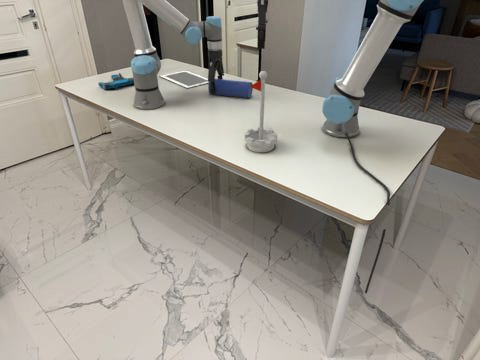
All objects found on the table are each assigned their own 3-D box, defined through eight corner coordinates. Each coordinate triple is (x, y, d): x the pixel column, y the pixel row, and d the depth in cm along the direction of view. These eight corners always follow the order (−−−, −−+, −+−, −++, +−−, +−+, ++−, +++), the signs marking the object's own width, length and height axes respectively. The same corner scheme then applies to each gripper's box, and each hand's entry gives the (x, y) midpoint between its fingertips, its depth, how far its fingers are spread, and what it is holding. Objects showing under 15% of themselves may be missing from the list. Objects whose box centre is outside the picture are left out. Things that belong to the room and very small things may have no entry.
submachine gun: (142, 67, 226) (160, 73, 209) (143, 73, 228) (161, 80, 211) (90, 77, 207) (106, 85, 191) (92, 83, 209) (108, 91, 193)
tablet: (159, 76, 219) (159, 75, 219) (186, 70, 230) (186, 70, 230) (187, 88, 199) (187, 87, 198) (214, 81, 210) (214, 80, 210)
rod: (252, 95, 189) (252, 80, 184) (248, 100, 182) (248, 84, 178) (214, 91, 195) (213, 76, 191) (208, 95, 188) (207, 80, 184)
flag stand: (268, 136, 145) (271, 64, 128) (282, 150, 134) (288, 73, 118) (239, 141, 141) (239, 68, 124) (252, 155, 130) (253, 77, 114)
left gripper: (216, 44, 188) (218, 83, 200) (199, 53, 170) (202, 96, 182) (229, 45, 186) (230, 84, 198) (213, 54, 168) (215, 97, 180)
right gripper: (254, -21, 131) (253, 38, 143) (250, -17, 110) (250, 51, 122) (273, -21, 131) (271, 38, 142) (274, -17, 110) (270, 52, 122)
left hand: (216, 90), depth 190 cm, fingers open, 10 cm apart
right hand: (261, 44), depth 132 cm, fingers open, 13 cm apart
